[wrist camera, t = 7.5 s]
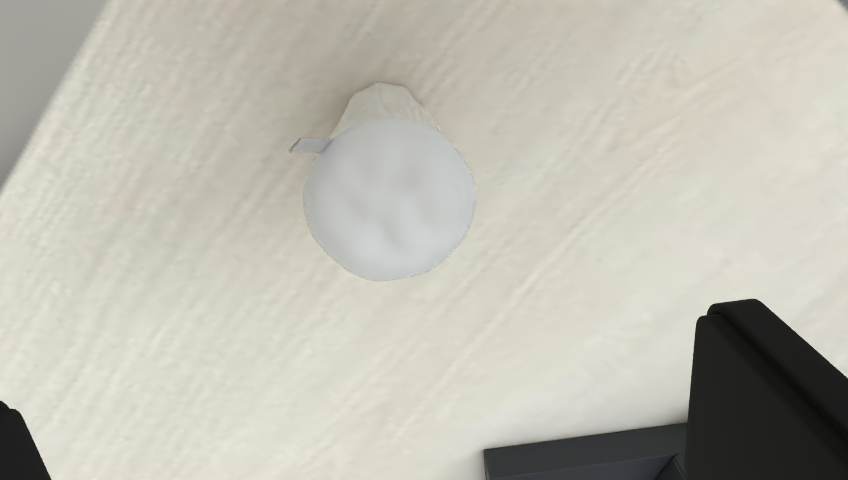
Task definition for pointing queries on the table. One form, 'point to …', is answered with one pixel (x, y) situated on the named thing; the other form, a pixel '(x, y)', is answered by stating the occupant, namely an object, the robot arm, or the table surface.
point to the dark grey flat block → (595, 457)
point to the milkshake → (387, 187)
